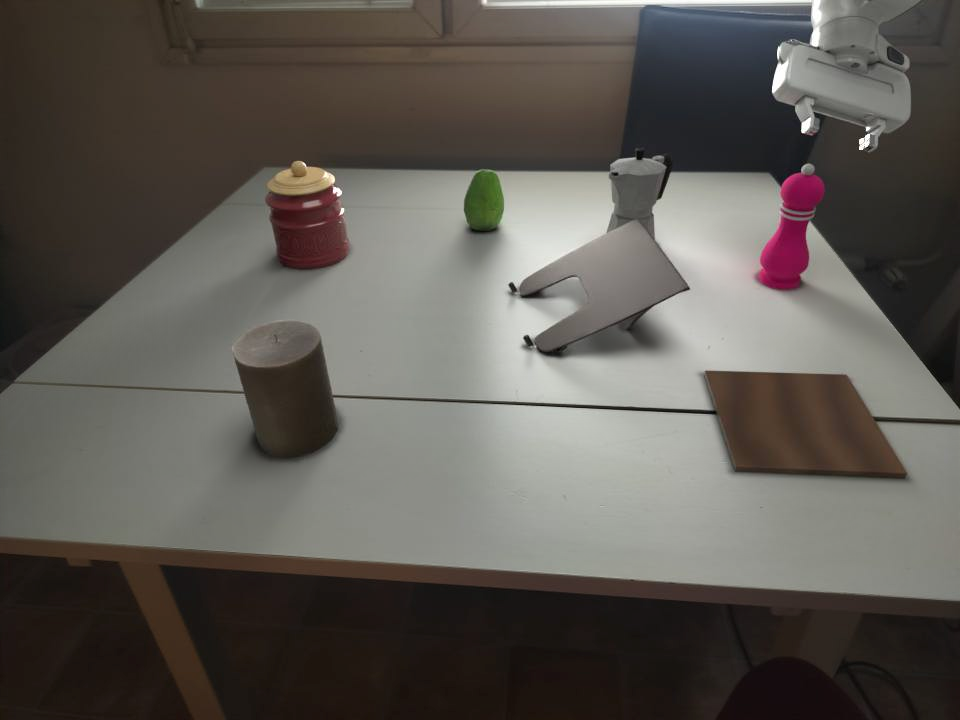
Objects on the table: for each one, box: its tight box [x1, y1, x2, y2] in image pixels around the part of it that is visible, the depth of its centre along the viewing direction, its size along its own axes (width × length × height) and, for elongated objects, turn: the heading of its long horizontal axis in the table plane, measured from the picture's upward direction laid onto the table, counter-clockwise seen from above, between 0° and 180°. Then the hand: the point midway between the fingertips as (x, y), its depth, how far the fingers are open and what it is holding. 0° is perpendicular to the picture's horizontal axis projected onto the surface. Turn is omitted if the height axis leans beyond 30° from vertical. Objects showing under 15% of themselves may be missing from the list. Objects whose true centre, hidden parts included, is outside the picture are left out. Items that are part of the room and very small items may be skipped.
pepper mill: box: [758, 163, 826, 291], centre depth 104 cm, size 7×7×20 cm
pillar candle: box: [230, 318, 340, 459], centre depth 77 cm, size 10×10×15 cm
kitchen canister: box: [264, 160, 351, 270], centre depth 117 cm, size 13×13×18 cm
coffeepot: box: [605, 147, 674, 240], centre depth 117 cm, size 15×9×18 cm, turn 126°
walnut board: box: [703, 370, 908, 479], centre depth 80 cm, size 18×18×2 cm
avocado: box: [463, 168, 505, 232], centre depth 126 cm, size 8×8×12 cm
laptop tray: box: [507, 218, 691, 355], centre depth 100 cm, size 23×23×9 cm
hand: (839, 141), depth 93 cm, fingers open, 8 cm apart
